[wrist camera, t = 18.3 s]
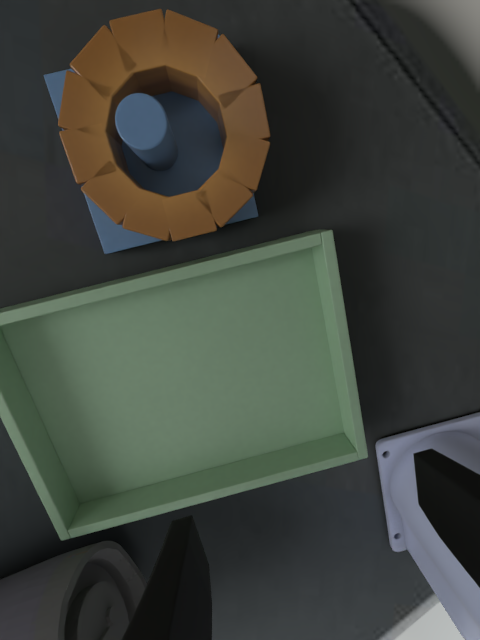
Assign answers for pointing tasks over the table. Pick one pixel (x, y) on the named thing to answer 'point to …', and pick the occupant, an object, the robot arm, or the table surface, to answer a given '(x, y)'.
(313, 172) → the table surface
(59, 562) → the bluetooth speaker
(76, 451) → the tray
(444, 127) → the table surface
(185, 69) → the ring
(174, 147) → the post
